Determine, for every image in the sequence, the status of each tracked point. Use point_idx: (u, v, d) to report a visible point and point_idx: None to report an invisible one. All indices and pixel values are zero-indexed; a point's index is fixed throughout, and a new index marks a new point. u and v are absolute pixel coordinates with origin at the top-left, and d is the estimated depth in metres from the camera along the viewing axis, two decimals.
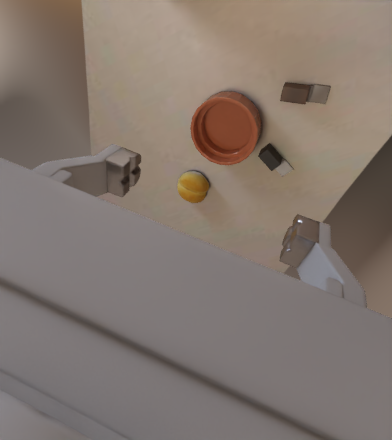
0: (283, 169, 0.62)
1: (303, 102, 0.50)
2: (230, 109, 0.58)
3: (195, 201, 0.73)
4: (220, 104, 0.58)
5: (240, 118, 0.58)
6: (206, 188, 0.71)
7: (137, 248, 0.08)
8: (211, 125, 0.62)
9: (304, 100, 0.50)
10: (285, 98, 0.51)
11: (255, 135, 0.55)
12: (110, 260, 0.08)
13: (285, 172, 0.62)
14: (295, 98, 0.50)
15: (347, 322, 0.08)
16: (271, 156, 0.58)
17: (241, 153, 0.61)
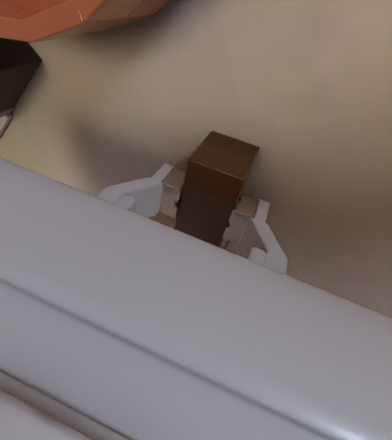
0: None
1: (179, 230, 0.14)
2: None
3: None
4: None
5: None
6: None
7: (137, 248, 0.08)
8: None
9: None
10: (196, 179, 0.12)
11: None
12: (110, 260, 0.08)
13: None
14: (192, 212, 0.13)
15: (347, 322, 0.08)
16: None
17: None
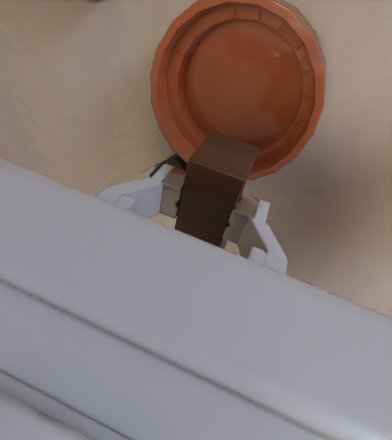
0: None
1: (179, 230, 0.14)
2: (277, 104, 0.25)
3: None
4: (295, 80, 0.24)
5: (252, 122, 0.27)
6: None
7: (137, 248, 0.08)
8: (249, 42, 0.23)
9: None
10: (196, 180, 0.12)
11: None
12: (110, 260, 0.08)
13: None
14: (192, 212, 0.13)
15: (347, 322, 0.08)
16: None
17: (179, 123, 0.28)
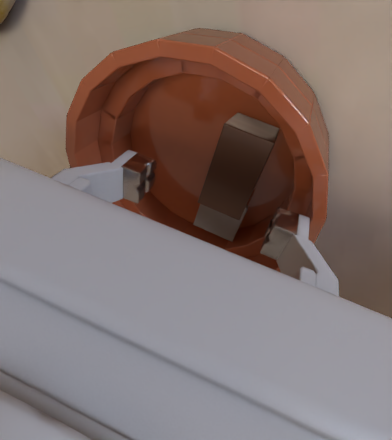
0: None
1: (203, 199, 0.15)
2: (258, 183, 0.17)
3: None
4: (284, 156, 0.16)
5: None
6: None
7: (137, 248, 0.08)
8: (214, 100, 0.15)
9: (209, 203, 0.15)
10: (229, 144, 0.13)
11: None
12: (110, 259, 0.08)
13: None
14: (219, 179, 0.14)
15: (347, 322, 0.08)
16: None
17: (124, 201, 0.20)
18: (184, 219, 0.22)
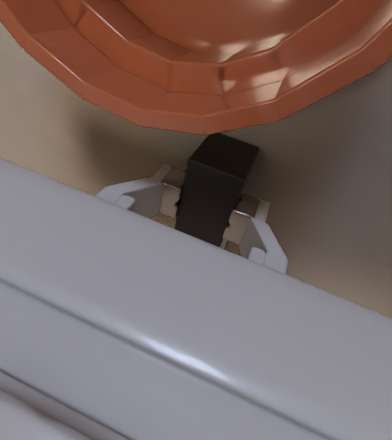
0: None
1: None
2: None
3: None
4: None
5: None
6: None
7: (137, 248, 0.08)
8: None
9: None
10: None
11: (310, 89, 0.07)
12: (110, 260, 0.08)
13: None
14: None
15: (347, 322, 0.08)
16: (225, 210, 0.12)
17: (138, 67, 0.10)
18: (267, 42, 0.10)
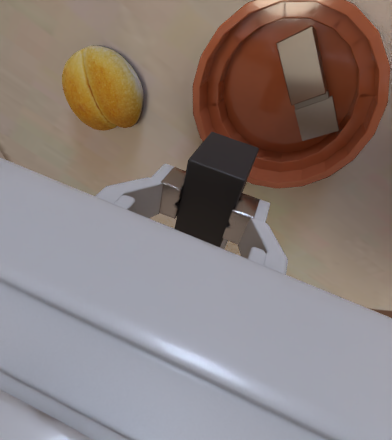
0: None
1: (293, 99, 0.21)
2: (328, 76, 0.23)
3: (84, 121, 0.31)
4: (332, 43, 0.21)
5: None
6: (126, 125, 0.31)
7: (137, 248, 0.08)
8: (265, 50, 0.23)
9: (298, 98, 0.21)
10: (286, 52, 0.20)
11: (311, 179, 0.24)
12: (110, 260, 0.08)
13: None
14: (295, 77, 0.20)
15: (347, 322, 0.08)
16: (225, 210, 0.12)
17: None
18: (295, 150, 0.27)
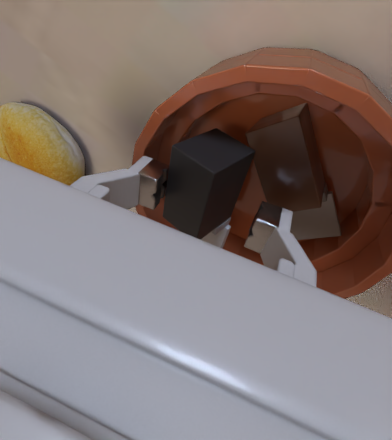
0: None
1: None
2: (327, 163, 0.16)
3: None
4: (332, 122, 0.14)
5: None
6: None
7: (137, 248, 0.08)
8: (236, 124, 0.16)
9: None
10: (260, 147, 0.13)
11: None
12: (110, 260, 0.08)
13: None
14: (274, 181, 0.14)
15: (347, 322, 0.08)
16: (199, 202, 0.12)
17: None
18: None
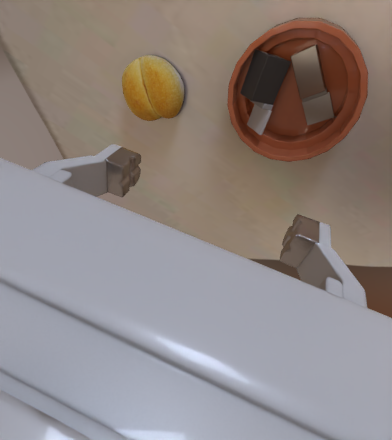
0: (256, 119, 0.33)
1: (302, 95, 0.30)
2: (327, 78, 0.31)
3: (137, 113, 0.39)
4: (329, 54, 0.30)
5: None
6: (170, 116, 0.39)
7: (137, 248, 0.08)
8: None
9: (305, 94, 0.30)
10: (297, 62, 0.29)
11: (314, 153, 0.33)
12: (110, 259, 0.08)
13: (252, 126, 0.34)
14: (303, 79, 0.29)
15: (347, 322, 0.08)
16: (259, 73, 0.29)
17: (265, 141, 0.36)
18: (302, 134, 0.36)
